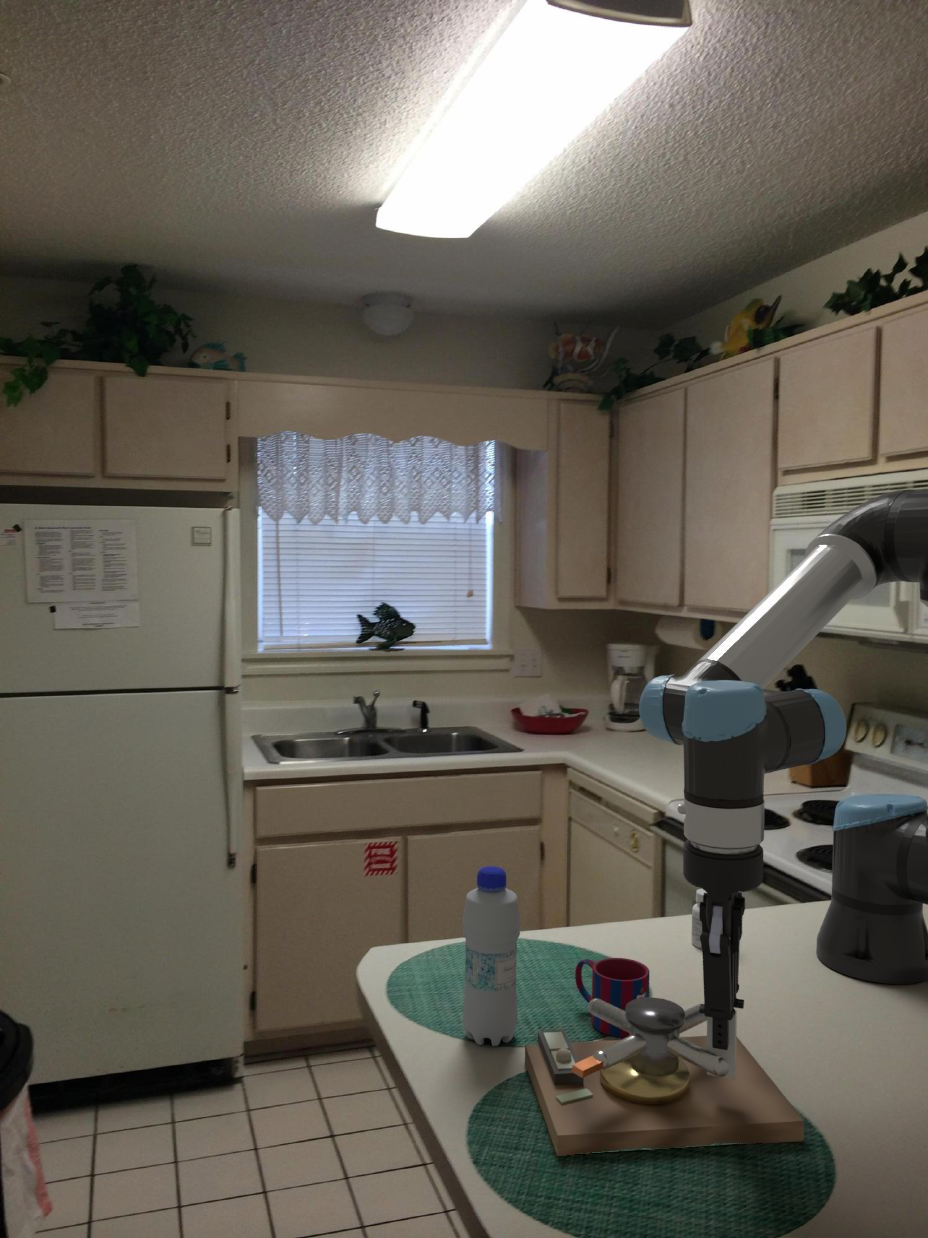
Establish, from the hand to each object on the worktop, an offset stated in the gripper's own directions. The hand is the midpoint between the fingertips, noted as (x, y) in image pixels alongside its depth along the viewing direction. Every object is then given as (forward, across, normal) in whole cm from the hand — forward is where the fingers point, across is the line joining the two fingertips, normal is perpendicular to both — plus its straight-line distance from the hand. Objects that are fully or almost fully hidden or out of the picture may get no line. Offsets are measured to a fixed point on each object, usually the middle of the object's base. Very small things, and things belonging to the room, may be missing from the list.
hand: (721, 1074), depth 97 cm
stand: (+5, -1, -7) cm, 8 cm away
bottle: (+5, -7, -27) cm, 28 cm away
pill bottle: (+6, -44, -7) cm, 45 cm away
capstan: (+2, 0, -8) cm, 8 cm away
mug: (+5, -16, -15) cm, 23 cm away
